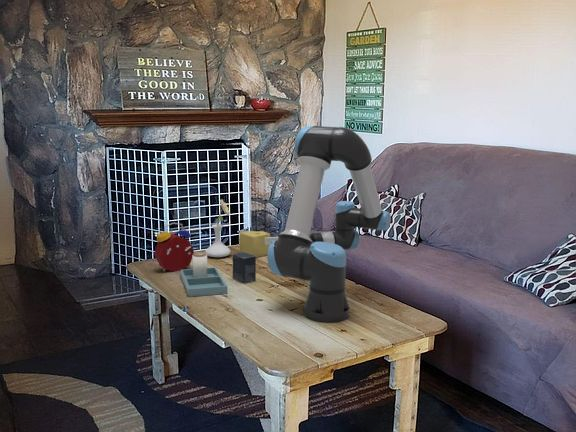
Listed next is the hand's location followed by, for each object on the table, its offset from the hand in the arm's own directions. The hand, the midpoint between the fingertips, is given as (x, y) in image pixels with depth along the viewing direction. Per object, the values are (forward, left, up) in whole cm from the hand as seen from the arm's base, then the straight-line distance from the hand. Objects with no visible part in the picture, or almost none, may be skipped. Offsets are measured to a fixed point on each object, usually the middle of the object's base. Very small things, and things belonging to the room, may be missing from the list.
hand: (269, 245), depth 226 cm
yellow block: (+36, -3, -14) cm, 38 cm away
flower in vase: (+38, +13, -14) cm, 42 cm away
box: (0, +10, -14) cm, 17 cm away
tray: (-1, +26, -13) cm, 29 cm away
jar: (+6, +26, -13) cm, 30 cm away
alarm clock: (+19, +34, -14) cm, 41 cm away
